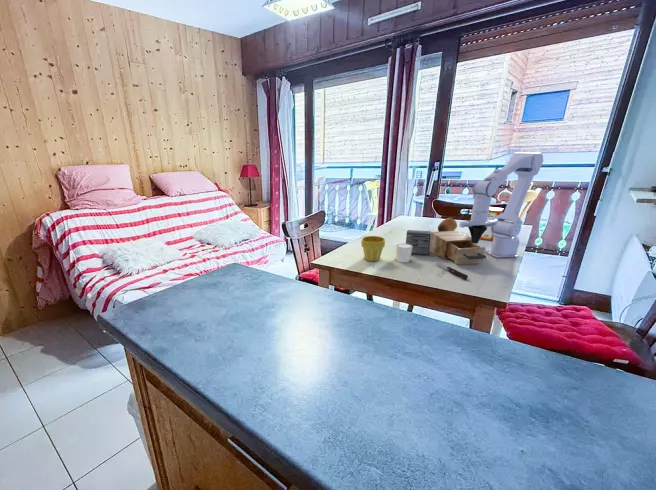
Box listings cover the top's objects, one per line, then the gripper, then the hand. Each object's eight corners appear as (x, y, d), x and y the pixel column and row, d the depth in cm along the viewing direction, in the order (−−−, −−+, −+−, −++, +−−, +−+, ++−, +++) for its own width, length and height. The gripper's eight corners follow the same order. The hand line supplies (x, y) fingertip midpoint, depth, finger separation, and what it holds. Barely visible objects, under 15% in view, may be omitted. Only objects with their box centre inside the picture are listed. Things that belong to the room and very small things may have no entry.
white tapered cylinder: (408, 263, 144) (410, 248, 142) (393, 261, 148) (394, 246, 146) (413, 259, 149) (414, 244, 147) (397, 256, 153) (399, 242, 151)
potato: (443, 241, 180) (431, 231, 182) (454, 230, 187) (442, 221, 189) (452, 232, 174) (439, 222, 176) (462, 221, 180) (450, 212, 183)
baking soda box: (497, 238, 170) (503, 207, 164) (493, 241, 166) (500, 210, 160) (476, 235, 177) (482, 205, 171) (473, 238, 173) (478, 208, 166)
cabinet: (471, 257, 147) (474, 239, 144) (443, 259, 147) (445, 240, 144) (453, 247, 161) (456, 230, 158) (428, 249, 161) (430, 232, 158)
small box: (428, 251, 157) (431, 230, 154) (428, 255, 152) (431, 234, 148) (405, 249, 162) (407, 229, 158) (404, 253, 156) (406, 232, 152)
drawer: (489, 266, 134) (492, 251, 132) (461, 268, 134) (464, 252, 132) (464, 252, 151) (467, 238, 148) (440, 254, 151) (442, 240, 148)
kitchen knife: (467, 280, 126) (468, 275, 125) (465, 280, 125) (466, 275, 125) (436, 264, 142) (436, 260, 141) (434, 264, 142) (434, 260, 141)
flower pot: (371, 264, 146) (372, 243, 142) (356, 258, 155) (356, 238, 151) (388, 259, 150) (390, 239, 147) (372, 253, 159) (373, 234, 155)
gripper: (491, 207, 136) (485, 238, 141) (457, 209, 136) (452, 241, 141) (503, 211, 129) (496, 243, 135) (466, 213, 129) (461, 246, 135)
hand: (474, 242), depth 137 cm, fingers closed
